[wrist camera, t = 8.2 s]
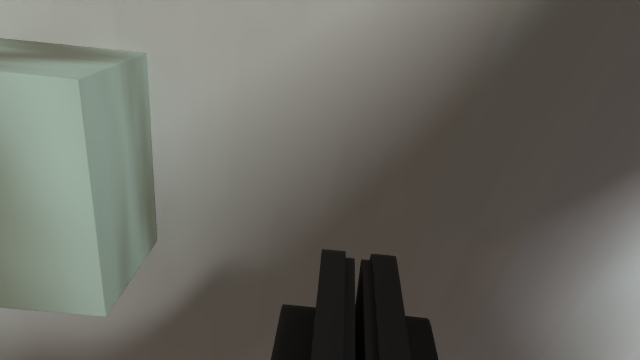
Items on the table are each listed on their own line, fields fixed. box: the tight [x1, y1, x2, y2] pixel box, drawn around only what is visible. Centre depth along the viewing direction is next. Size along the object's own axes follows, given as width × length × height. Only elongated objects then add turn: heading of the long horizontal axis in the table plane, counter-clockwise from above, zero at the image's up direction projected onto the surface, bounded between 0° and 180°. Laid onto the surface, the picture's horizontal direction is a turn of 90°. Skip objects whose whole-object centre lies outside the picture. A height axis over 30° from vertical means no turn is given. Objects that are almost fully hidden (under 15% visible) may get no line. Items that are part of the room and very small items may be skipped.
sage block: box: [0, 38, 157, 317], centre depth 14 cm, size 7×7×4 cm
